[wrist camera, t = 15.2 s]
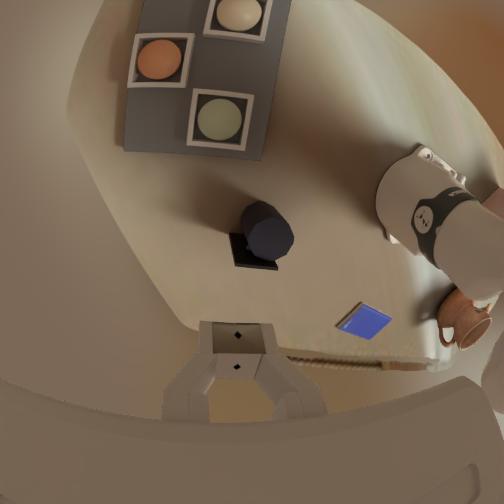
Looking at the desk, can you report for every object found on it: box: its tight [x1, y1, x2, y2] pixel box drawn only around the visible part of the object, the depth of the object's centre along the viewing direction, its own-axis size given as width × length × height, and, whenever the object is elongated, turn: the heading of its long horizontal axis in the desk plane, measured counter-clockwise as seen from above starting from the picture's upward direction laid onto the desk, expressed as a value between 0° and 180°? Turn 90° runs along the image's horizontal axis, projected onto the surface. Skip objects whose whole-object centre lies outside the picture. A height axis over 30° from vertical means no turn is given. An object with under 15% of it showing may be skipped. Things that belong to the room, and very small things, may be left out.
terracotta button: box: [138, 40, 183, 80], centre depth 24 cm, size 5×5×2 cm
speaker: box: [229, 202, 294, 271], centre depth 37 cm, size 8×6×10 cm
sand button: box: [217, 0, 262, 33], centre depth 22 cm, size 5×5×2 cm
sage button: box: [198, 99, 242, 140], centre depth 29 cm, size 5×5×2 cm
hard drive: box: [337, 302, 392, 340], centre depth 58 cm, size 2×8×12 cm
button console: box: [124, 0, 291, 161], centre depth 26 cm, size 18×24×4 cm
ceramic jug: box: [437, 288, 492, 351], centre depth 55 cm, size 18×14×14 cm
